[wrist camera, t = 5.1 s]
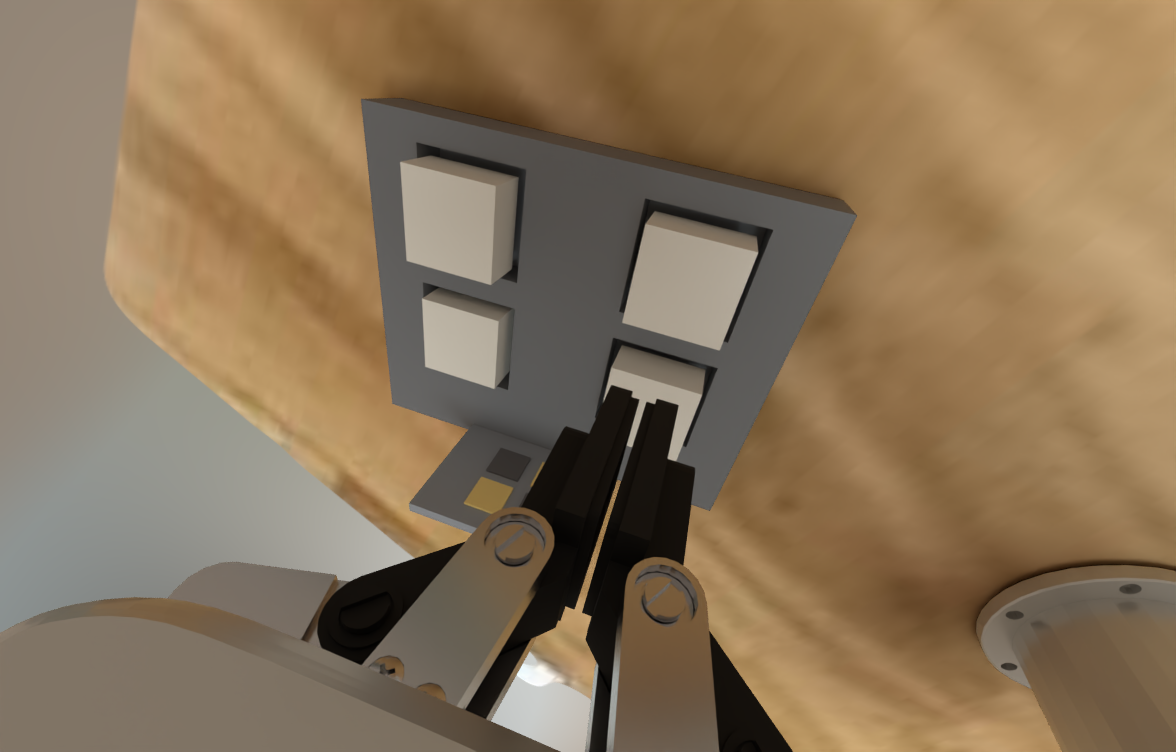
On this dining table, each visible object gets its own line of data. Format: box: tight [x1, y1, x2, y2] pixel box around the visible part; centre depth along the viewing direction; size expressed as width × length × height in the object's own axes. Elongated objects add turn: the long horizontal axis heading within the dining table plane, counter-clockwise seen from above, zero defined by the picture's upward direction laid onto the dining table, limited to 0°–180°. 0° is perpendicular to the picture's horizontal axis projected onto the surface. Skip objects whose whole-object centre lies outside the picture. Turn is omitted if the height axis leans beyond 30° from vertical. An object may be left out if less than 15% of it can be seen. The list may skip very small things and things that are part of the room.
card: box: [409, 424, 551, 534], centre depth 26 cm, size 10×1×7 cm, turn 80°
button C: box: [603, 345, 705, 461], centre depth 24 cm, size 4×4×2 cm
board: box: [361, 98, 857, 511], centre depth 25 cm, size 22×18×3 cm
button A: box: [622, 211, 758, 351], centre depth 20 cm, size 4×4×2 cm
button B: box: [400, 155, 519, 285], centre depth 21 cm, size 4×4×2 cm
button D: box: [422, 287, 515, 389], centre depth 26 cm, size 4×4×2 cm
